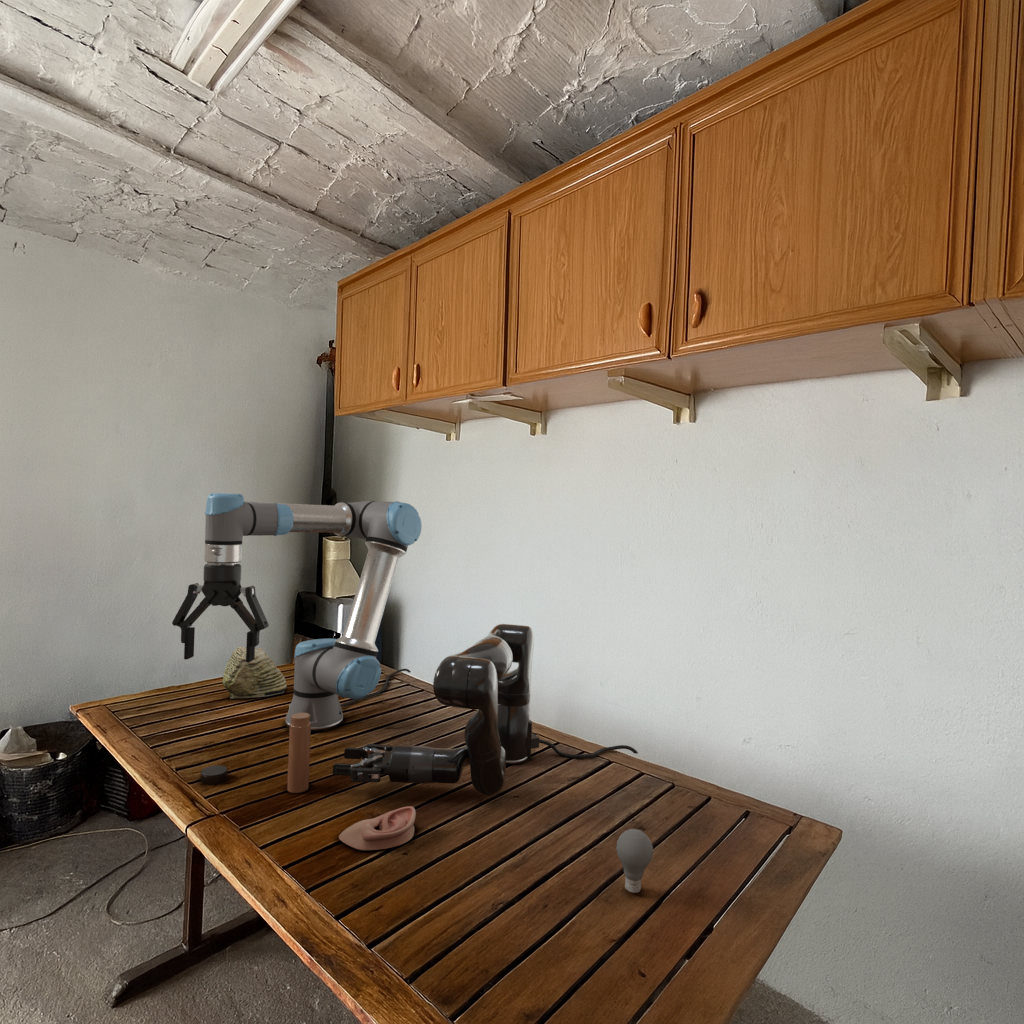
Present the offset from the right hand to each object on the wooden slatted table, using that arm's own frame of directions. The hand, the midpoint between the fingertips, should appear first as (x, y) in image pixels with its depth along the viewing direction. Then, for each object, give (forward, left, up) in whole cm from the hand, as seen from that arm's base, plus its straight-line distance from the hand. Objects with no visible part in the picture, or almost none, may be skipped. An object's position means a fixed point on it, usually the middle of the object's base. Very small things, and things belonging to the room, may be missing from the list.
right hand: (339, 760), depth 137 cm
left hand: (+24, -14, +20) cm, 34 cm away
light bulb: (-39, +54, -6) cm, 66 cm away
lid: (+24, -14, -5) cm, 28 cm away
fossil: (+13, -73, -6) cm, 74 cm away
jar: (+8, -3, -6) cm, 11 cm away
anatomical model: (-4, +22, -6) cm, 23 cm away
